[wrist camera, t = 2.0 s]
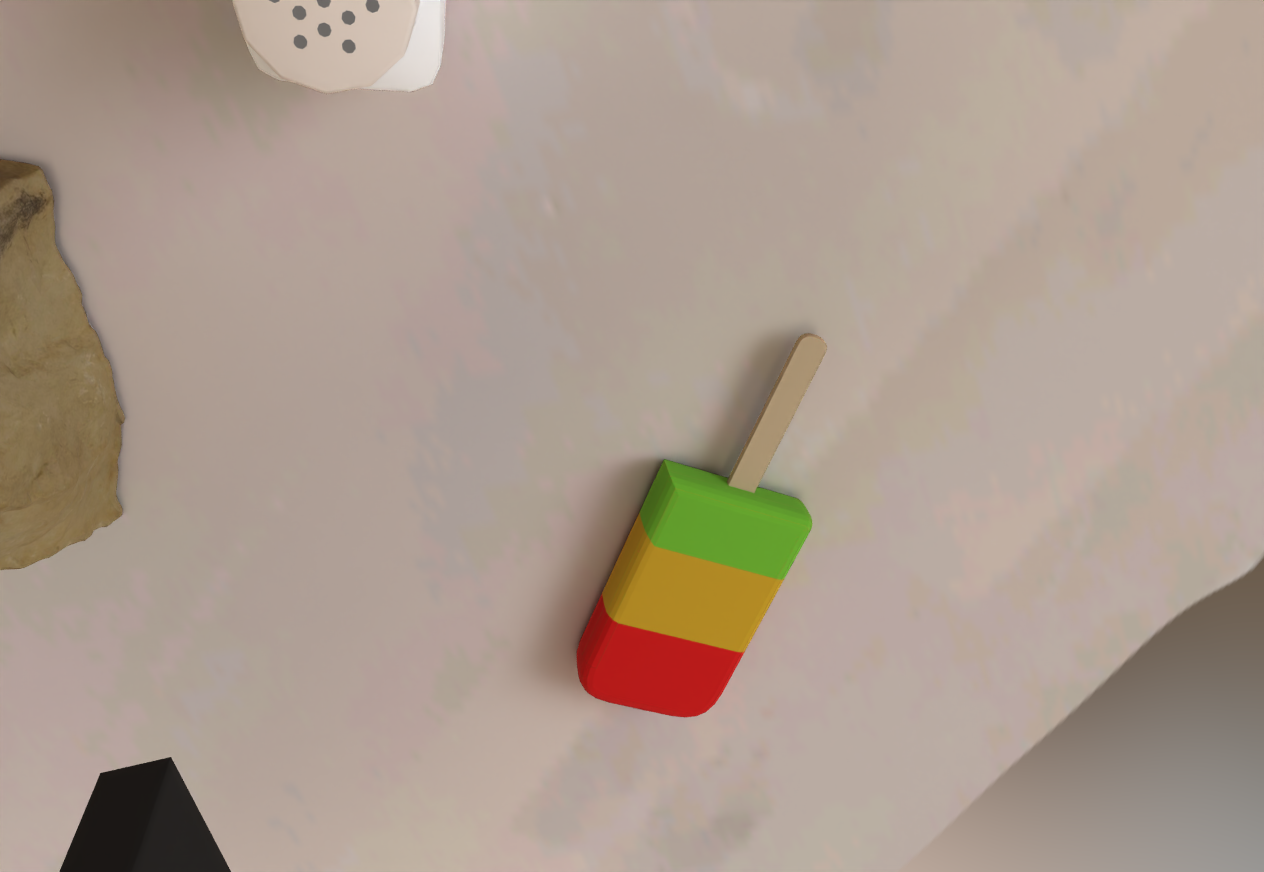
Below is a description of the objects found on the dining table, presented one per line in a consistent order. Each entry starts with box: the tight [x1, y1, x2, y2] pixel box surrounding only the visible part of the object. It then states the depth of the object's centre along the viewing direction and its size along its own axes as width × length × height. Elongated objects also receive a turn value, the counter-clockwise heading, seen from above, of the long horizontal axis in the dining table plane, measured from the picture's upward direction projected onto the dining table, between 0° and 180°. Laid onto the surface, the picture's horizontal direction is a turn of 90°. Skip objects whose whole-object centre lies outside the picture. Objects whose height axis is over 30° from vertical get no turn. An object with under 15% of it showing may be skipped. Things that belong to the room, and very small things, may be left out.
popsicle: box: [577, 333, 827, 717], centre depth 35 cm, size 6×15×2 cm, turn 158°
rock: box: [0, 159, 125, 570], centre depth 27 cm, size 11×9×10 cm
